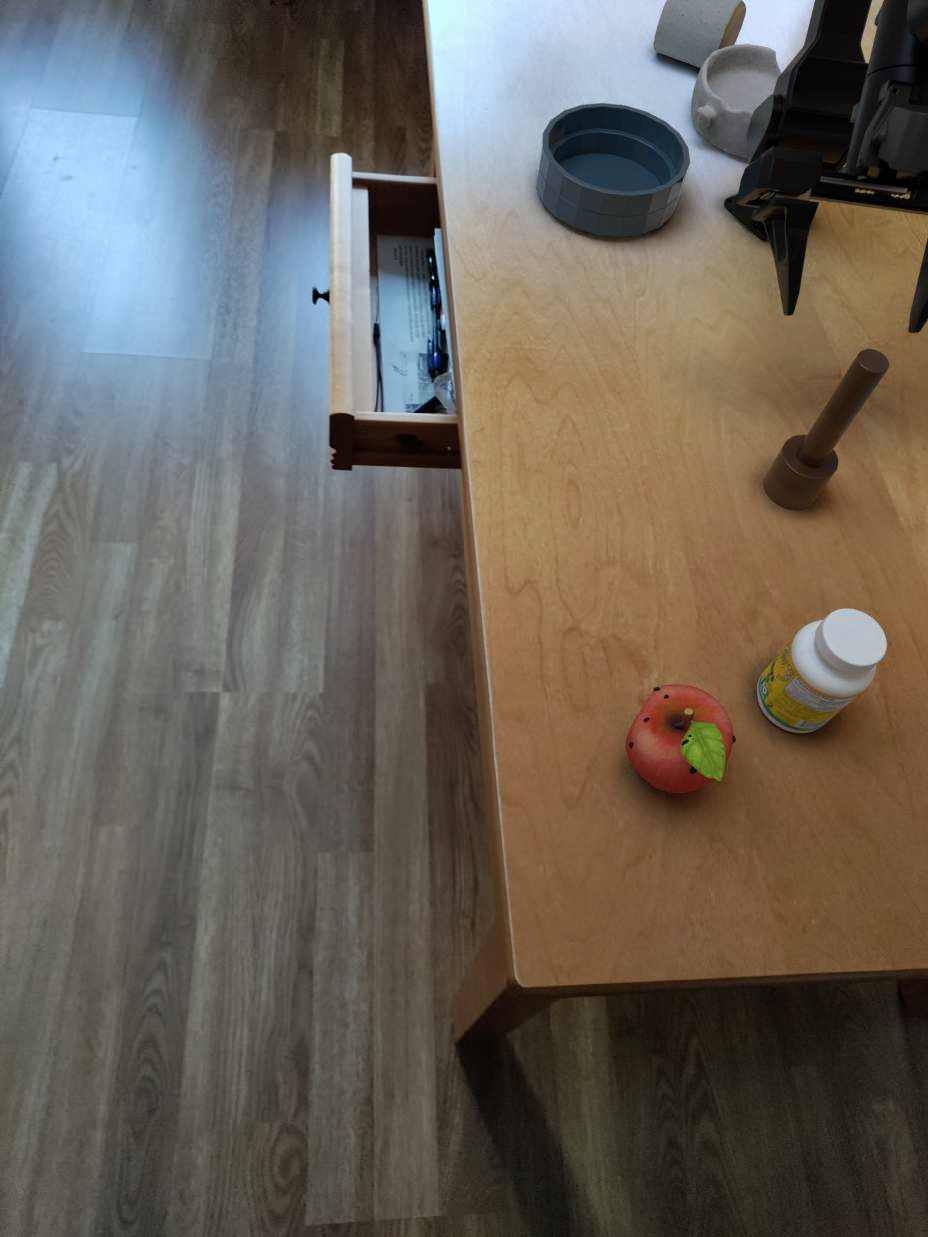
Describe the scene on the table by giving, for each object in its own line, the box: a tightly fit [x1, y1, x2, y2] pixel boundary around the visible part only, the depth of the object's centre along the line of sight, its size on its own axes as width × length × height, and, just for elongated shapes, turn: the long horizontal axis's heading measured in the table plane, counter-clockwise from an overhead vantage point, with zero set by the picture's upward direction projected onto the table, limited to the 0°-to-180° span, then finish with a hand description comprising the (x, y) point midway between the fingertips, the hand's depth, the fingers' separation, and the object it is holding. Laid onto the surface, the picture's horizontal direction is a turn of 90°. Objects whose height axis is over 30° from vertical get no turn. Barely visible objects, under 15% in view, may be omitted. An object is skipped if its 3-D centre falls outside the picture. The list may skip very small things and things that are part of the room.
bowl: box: [535, 102, 691, 238], centre depth 84 cm, size 14×14×5 cm
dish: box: [690, 43, 782, 159], centre depth 91 cm, size 14×14×5 cm
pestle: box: [763, 348, 890, 510], centre depth 64 cm, size 4×4×14 cm
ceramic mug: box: [653, 0, 747, 69], centre depth 97 cm, size 11×8×8 cm
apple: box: [625, 683, 737, 794], centre depth 53 cm, size 8×7×10 cm
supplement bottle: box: [756, 607, 888, 734], centre depth 56 cm, size 5×5×10 cm
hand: (851, 323), depth 62 cm, fingers open, 9 cm apart
